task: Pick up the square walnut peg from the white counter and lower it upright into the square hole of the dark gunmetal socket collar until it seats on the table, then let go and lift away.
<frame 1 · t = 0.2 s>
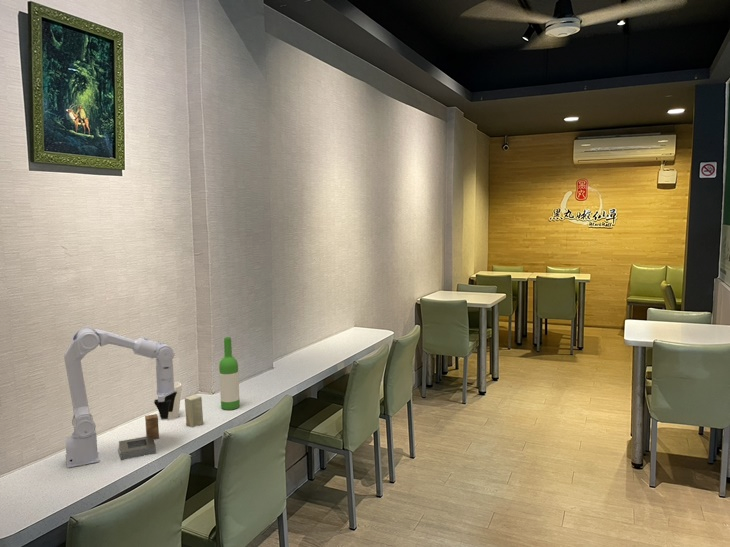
hand: (167, 415, 200), 10 cm above the table, fingers open, 7 cm apart
collar: (137, 450, 194), on the table
peg: (152, 437, 206), on the table
box: (194, 425, 218), on the table
wine bottle: (230, 407, 237), on the table
foam cup: (170, 417, 227), on the table
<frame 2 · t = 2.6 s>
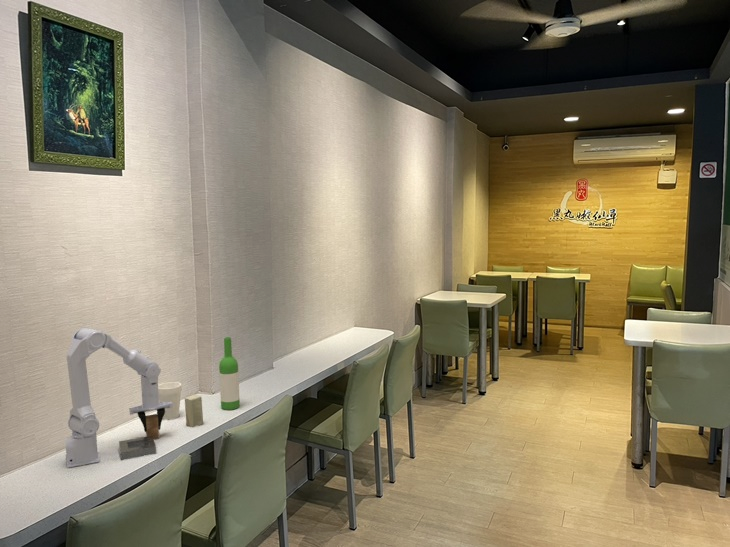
hand: (152, 429, 205), 3 cm above the table, fingers closed on peg, 4 cm apart
peg: (152, 437, 206), on the table, touching gripper
everything else where it was.
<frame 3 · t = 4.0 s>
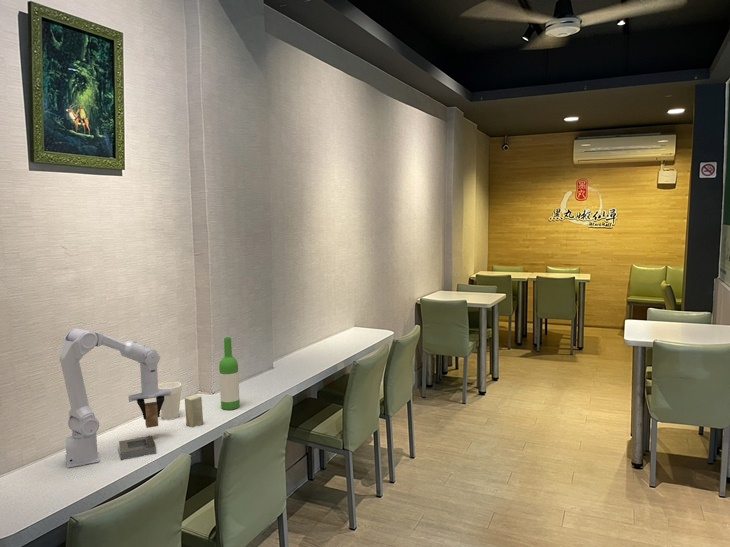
hand: (151, 417, 205), 8 cm above the table, fingers closed on peg, 4 cm apart
peg: (151, 425, 205), point 5 cm above the table, touching gripper
everything else where it was.
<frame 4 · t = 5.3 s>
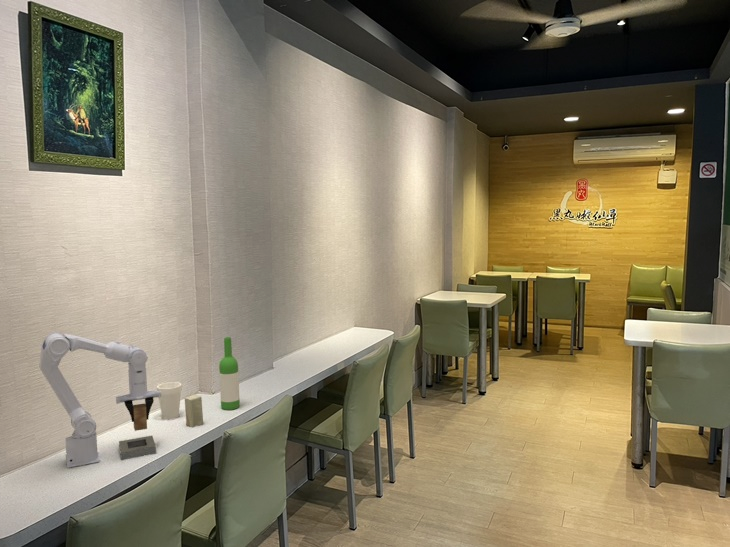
hand: (140, 419, 196), 10 cm above the table, fingers closed on peg, 4 cm apart
peg: (140, 428, 197), point 7 cm above the table, touching gripper
everything else where it was.
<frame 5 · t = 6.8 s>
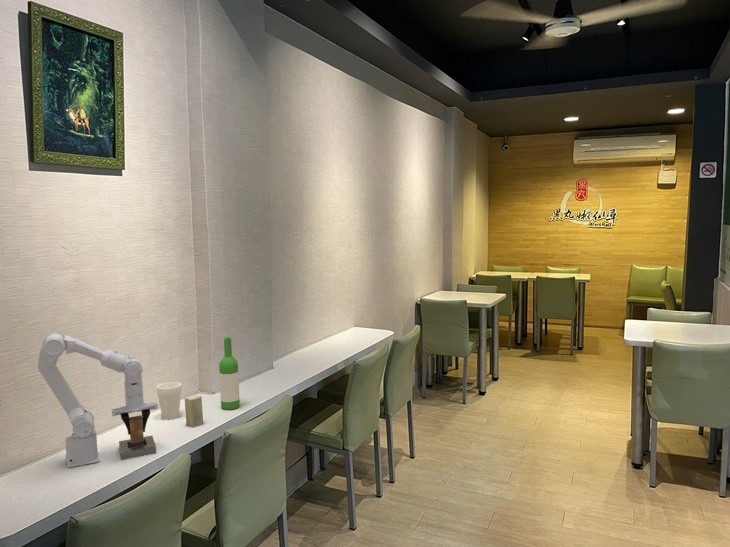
hand: (136, 432, 193), 7 cm above the table, fingers closed on peg, 4 cm apart
peg: (137, 440, 194), point 4 cm above the table, touching gripper
everything else where it was.
when the fingers open (4 cm above the table, at t = 8.2 s): peg drops 1 cm, resting in collar.
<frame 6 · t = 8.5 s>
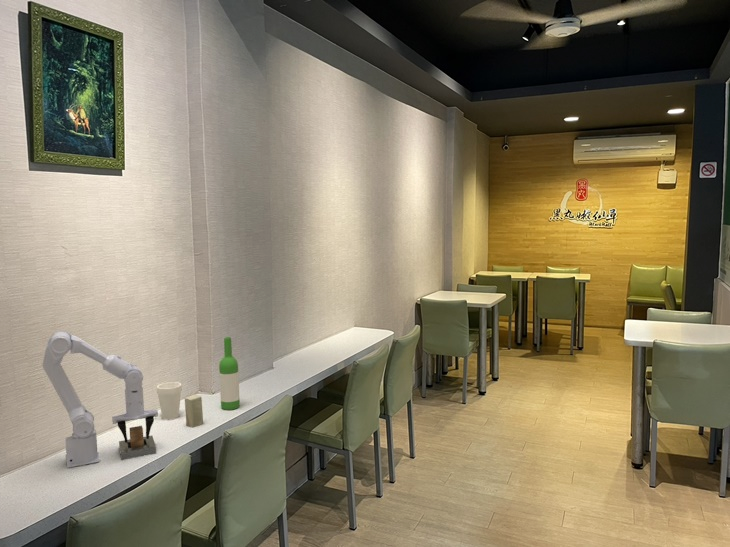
hand: (136, 439, 194), 4 cm above the table, fingers open, 6 cm apart
peg: (137, 450, 194), resting in collar
everything else where it was.
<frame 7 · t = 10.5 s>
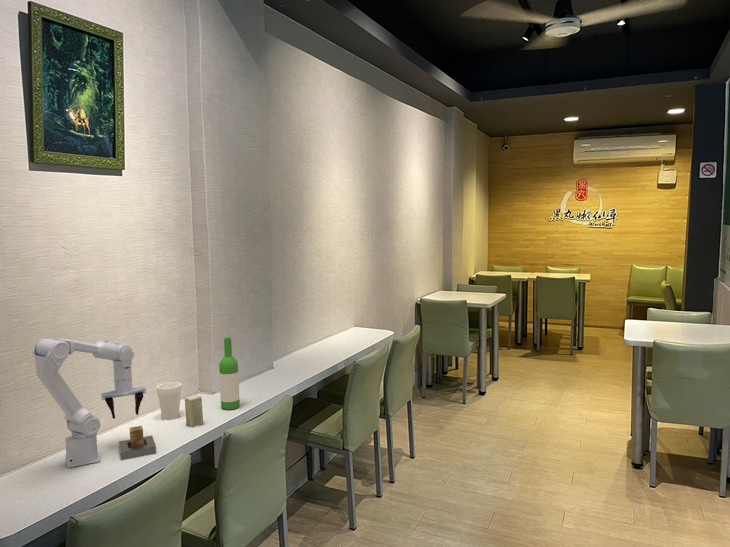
hand: (125, 415, 199), 10 cm above the table, fingers open, 7 cm apart
nothing on the table moved.
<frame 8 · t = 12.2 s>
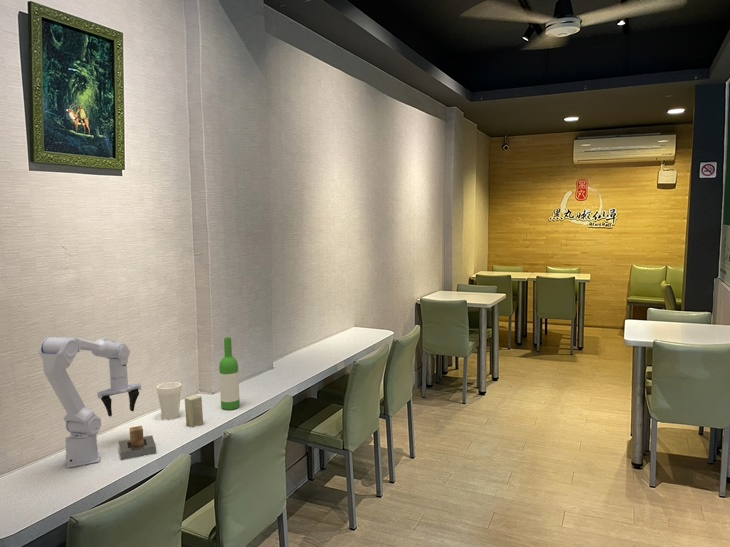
hand: (121, 413, 202), 10 cm above the table, fingers open, 7 cm apart
nothing on the table moved.
at the end: peg 0.0 cm off-centre on the collar, point 0.0 cm above the collar's base; peg tilted 0°; the gripper is holding nothing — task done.
